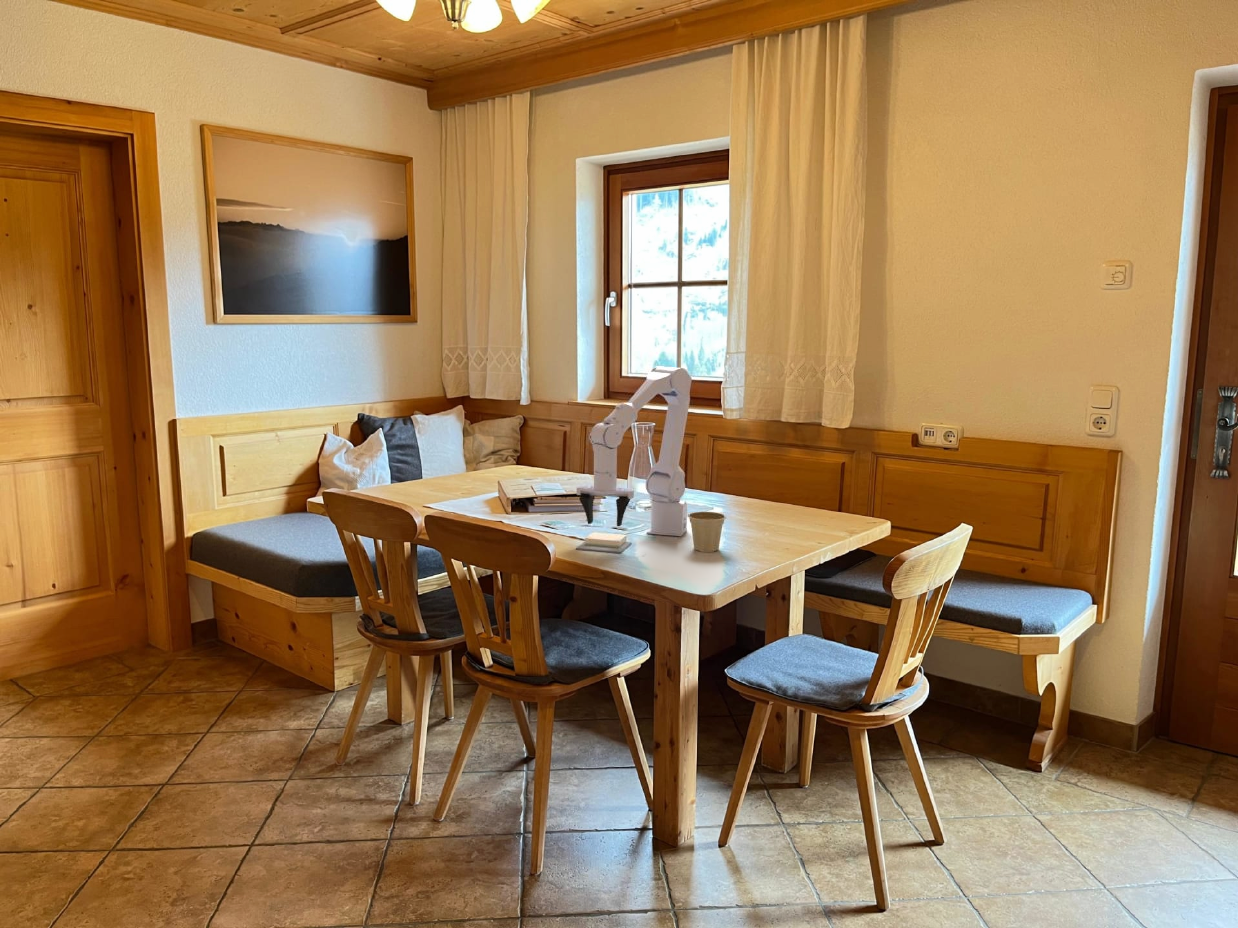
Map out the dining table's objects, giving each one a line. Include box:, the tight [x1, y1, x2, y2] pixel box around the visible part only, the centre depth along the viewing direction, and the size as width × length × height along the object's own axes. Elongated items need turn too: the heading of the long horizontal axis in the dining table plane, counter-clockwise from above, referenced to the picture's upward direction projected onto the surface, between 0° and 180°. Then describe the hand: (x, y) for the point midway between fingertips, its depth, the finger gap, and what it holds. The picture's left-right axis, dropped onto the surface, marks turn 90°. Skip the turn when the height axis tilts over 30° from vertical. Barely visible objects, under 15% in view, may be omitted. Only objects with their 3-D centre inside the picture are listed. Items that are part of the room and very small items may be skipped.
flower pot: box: [687, 511, 727, 553], centre depth 231 cm, size 9×9×9 cm
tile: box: [584, 531, 627, 547], centre depth 235 cm, size 9×2×6 cm
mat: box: [575, 541, 632, 554], centre depth 233 cm, size 12×10×1 cm
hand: (604, 524), depth 235 cm, fingers open, 7 cm apart
